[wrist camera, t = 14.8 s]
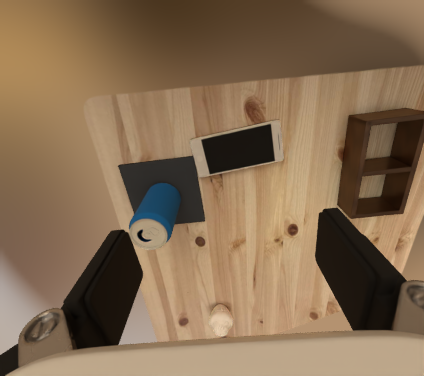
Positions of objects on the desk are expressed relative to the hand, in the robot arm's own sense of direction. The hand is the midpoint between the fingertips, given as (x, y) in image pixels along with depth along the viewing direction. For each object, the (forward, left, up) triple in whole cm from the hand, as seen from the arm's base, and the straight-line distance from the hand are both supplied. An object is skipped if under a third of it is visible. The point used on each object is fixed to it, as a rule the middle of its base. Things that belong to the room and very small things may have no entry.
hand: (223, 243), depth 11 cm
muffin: (+47, -5, -31) cm, 56 cm away
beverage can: (+12, -12, -30) cm, 35 cm away
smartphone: (+5, +3, -30) cm, 31 cm away
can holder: (+10, +26, -30) cm, 41 cm away
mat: (+12, -12, -30) cm, 35 cm away
